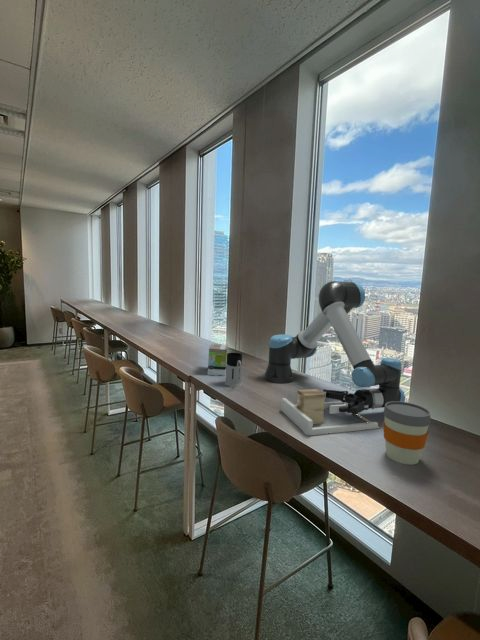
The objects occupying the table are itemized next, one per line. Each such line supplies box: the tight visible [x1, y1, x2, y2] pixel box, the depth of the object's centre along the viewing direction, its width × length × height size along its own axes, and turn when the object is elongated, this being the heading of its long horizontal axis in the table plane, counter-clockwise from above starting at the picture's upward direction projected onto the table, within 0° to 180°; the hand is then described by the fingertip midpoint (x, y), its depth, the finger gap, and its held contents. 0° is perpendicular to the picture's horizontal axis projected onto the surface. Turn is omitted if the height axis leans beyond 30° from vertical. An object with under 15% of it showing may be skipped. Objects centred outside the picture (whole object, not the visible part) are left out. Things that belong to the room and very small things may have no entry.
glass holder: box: [224, 352, 243, 388], centre depth 157 cm, size 9×14×15 cm, turn 18°
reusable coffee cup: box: [382, 401, 431, 466], centre depth 97 cm, size 13×13×15 cm
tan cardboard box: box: [296, 388, 326, 425], centre depth 121 cm, size 6×8×11 cm
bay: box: [280, 397, 381, 437], centre depth 123 cm, size 22×29×5 cm
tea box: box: [207, 343, 229, 377], centre depth 180 cm, size 15×10×15 cm, turn 179°
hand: (319, 402), depth 121 cm, fingers open, 13 cm apart
